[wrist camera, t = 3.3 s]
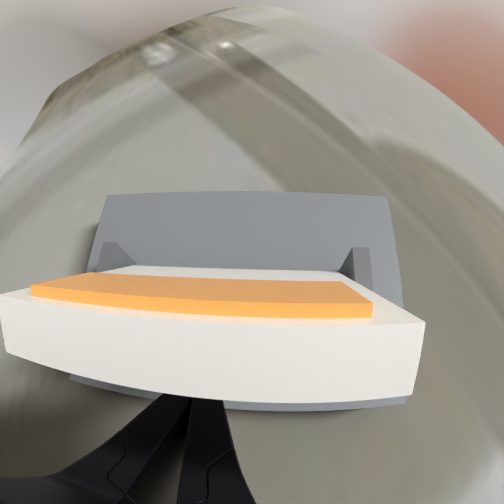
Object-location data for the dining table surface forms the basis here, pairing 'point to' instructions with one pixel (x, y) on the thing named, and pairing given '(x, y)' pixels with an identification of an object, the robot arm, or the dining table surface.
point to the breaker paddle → (219, 333)
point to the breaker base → (252, 248)
